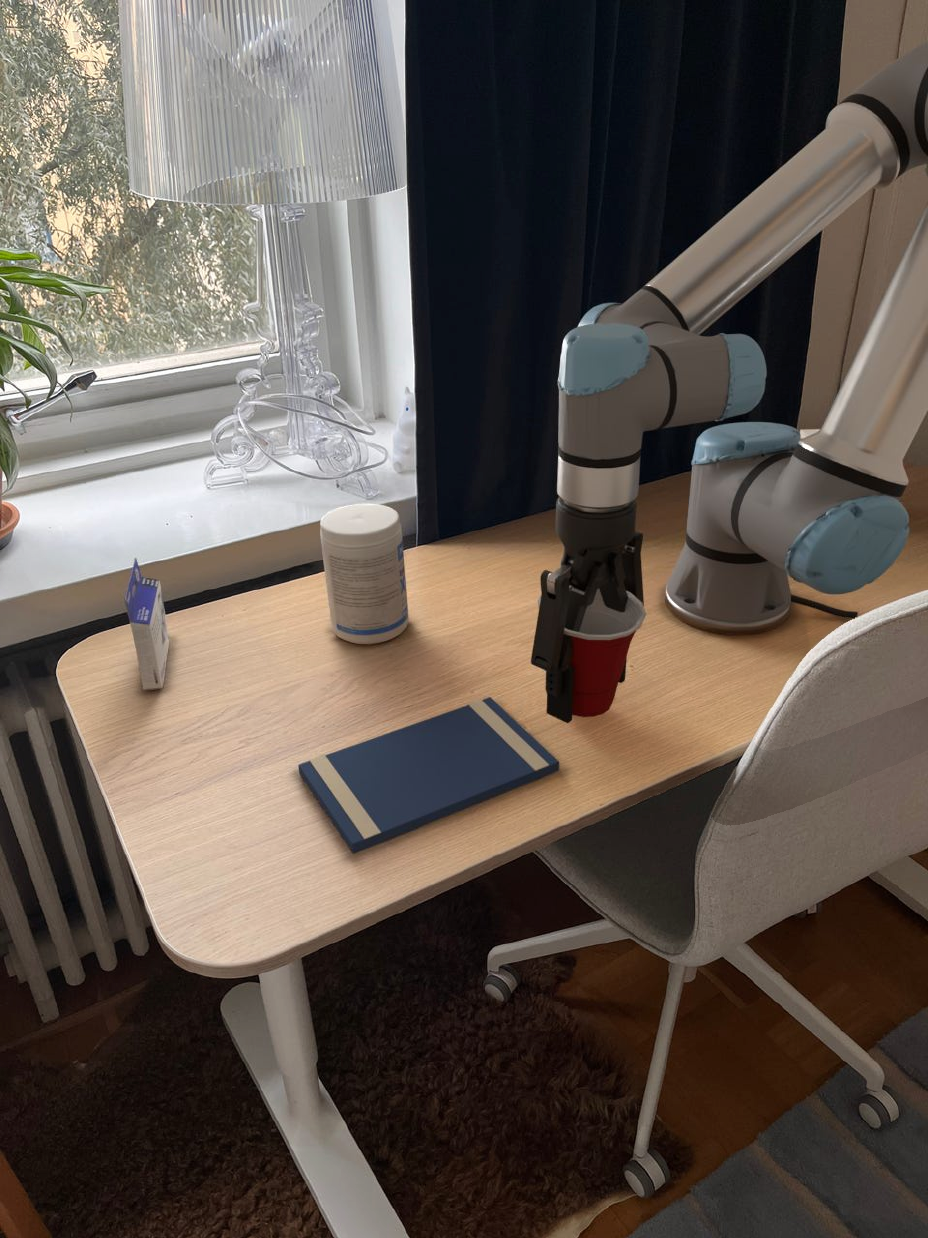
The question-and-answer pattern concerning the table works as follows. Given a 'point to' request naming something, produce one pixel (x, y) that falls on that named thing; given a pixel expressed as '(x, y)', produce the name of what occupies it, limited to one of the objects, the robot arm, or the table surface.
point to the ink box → (148, 627)
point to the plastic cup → (601, 652)
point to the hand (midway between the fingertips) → (586, 696)
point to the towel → (424, 772)
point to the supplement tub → (365, 572)
